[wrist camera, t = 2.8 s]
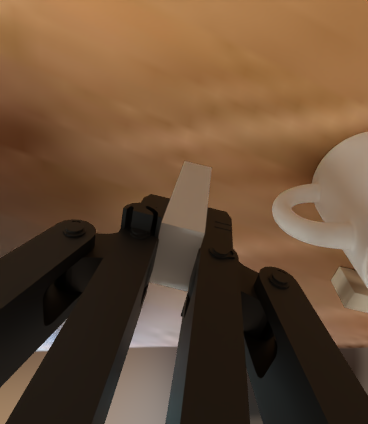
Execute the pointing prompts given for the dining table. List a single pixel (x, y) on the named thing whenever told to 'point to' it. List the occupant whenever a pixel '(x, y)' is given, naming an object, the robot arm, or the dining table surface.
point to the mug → (333, 203)
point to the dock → (351, 289)
